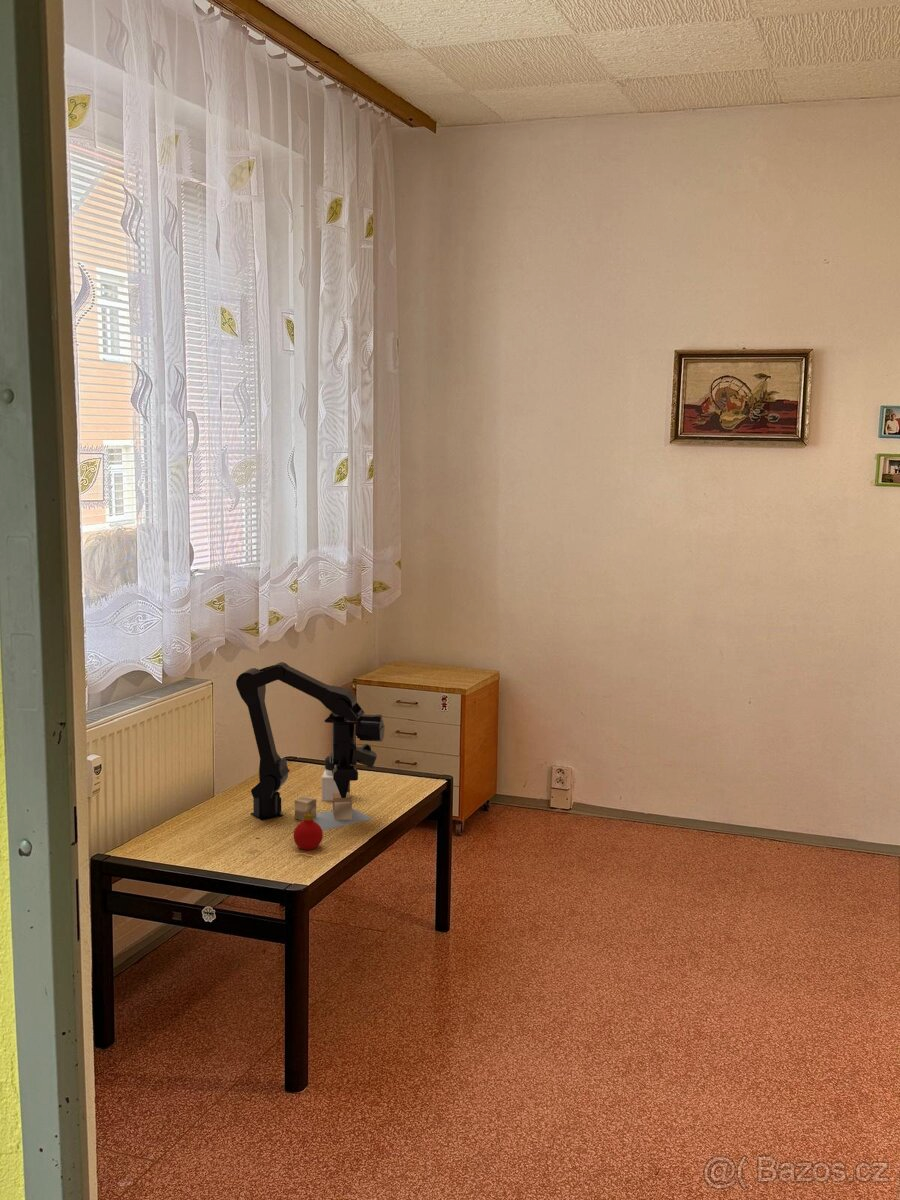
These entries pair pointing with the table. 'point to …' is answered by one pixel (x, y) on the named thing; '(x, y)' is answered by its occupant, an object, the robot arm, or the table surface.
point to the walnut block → (342, 807)
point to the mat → (329, 822)
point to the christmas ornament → (308, 833)
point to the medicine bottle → (329, 782)
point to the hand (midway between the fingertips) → (343, 797)
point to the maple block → (305, 807)
